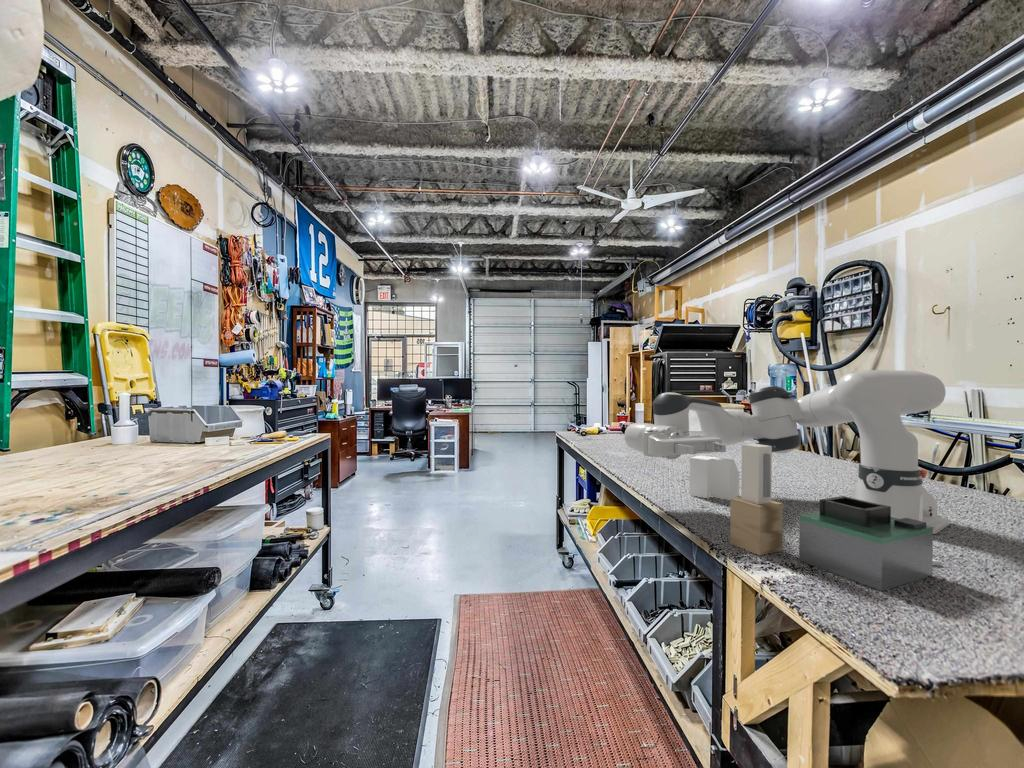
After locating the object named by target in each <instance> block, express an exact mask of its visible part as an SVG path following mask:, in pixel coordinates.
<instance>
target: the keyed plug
mask: <svg viewBox="0 0 1024 768" xmlns="http://www.w3.org/2000/svg"><path fill="white" fill-rule="evenodd" d="M772 454H773V452H772V446H767V445H761V444H756V443H746V444H744V443H743V444H741V483H740V484H741V486H740V487H741V493H740V495H741V496H740V497H741V500H745V501H748V502H752V503H755V504H764V503H770V502H771V500H772V468H773V467H772V466H773V465H772V462H773V461H772V459H773V458H772V457H773V455H772Z"/></svg>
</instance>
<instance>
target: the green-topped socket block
mask: <svg viewBox="0 0 1024 768" xmlns="http://www.w3.org/2000/svg"><path fill="white" fill-rule="evenodd" d="M798 522H799V523H798V524H799V527H798V528H799V529H798V530H799V532H798V533H799V534H798V539H799V540H798V542H799V543H798V545H799V546H798V548H799V550H798V551H799V552H798V560H799V561H801V562H803V561H804V563H806V562H807V563H806V564H808V563H809V565H811V566H814V567H817V568H819V569H822V570H824V571H827V572H830V573H832V574H835V575H838V576H840V577H843V578H846V579H848V580H851V581H854V582H856V583H858V584H861V585H864V586H867V587H870V588H872V589H875V590H877V591H879V592H884V591H887V590H890V589H893V588H897V587H900V586H903V585H907V584H910V583H913V582H916V581H919V580H922V579H926V578H929V577H932V576H933V566H932V560H933V559H934V557H933V549H934V548H933V547H934V545H933V544H934V543H933V539H934V538H933V537H934V534H933V527H931V526H927V525H926V522H922V521H918V520H914V519H910V518H903V519H898V518H894V517H891V507H890V506H885V505H881V504H876V503H872V502H867V501H863V500H858V499H854V498H852V497H849V496H845V495H841V496H835V497H829V498H828V497H827V498H822V499H819V511H816V512H810V513H806V514H805V513H804V514H799V521H798ZM931 575H932V576H931ZM928 576H929V577H928ZM925 577H926V578H925Z"/></svg>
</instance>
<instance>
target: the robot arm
mask: <svg viewBox="0 0 1024 768" xmlns="http://www.w3.org/2000/svg"><path fill="white" fill-rule="evenodd" d="M946 393H947V392H946V387H945V384H944V383H943V381H942V380H941V379H940V378H938V377H937V376H935V375H933V374H929V373H925V372H923V371H922V372H921V371H915V370H896V369H895V370H891V369H890V370H889V369H888V370H886V369H883V370H882V369H880V370H879V369H865V370H864V369H863V370H859V371H854V372H851V373H850V372H849V373H846V374H843V376H841V377H840V378H839V379H838V381H837V382H836V384H835V385H832V386H828V387H826V388H825V387H824V388H821V389H817V390H815V391H812V392H810V393H808V394H806V395H803V396H800V397H796V398H792V397H791V396H792V395H793V392H792V391H790V392H788V391H787V390H786V389H785V388H783V387H780V386H778V385H763V386H759V387H758V388H755V389H754V390H753V391H751V392H750V393H749V394H748V395H749V396H748V399H749V401H748V402H749V405H750V407H751V412H752V414H750V413H749V412H745V411H741V410H725V409H724V408H723V406H722V405H721V403H719V402H717V401H714V400H709V399H704V398H698V397H695V396H693V397H692V396H688V395H683V394H681V393H677V392H674V391H673V392H669V391H667V392H663V393H659V394H658V395H657V396H656V397H655V399H654V400H653V401H652V409H653V410H652V411H653V420H654V421H653V422H654V423H648V422H635V423H631V424H628V425H627V427H626V429H625V431H624V443H625V444H626V446H627V447H628V448H629V449H631V450H633V451H636V452H638V453H641V454H643V456H645V457H649V458H650V457H651V458H652V457H653V458H655V457H656V458H662V459H668V460H676V459H678V458H679V457H680V456H682V455H697V454H710V453H726V451H727V446H731V445H736V444H739V443H744V442H746V441H749V440H756V441H757V443H755V444H761V445H767V446H772V453H774V454H787V453H791V452H793V451H794V450H795V449H798V448H799V447H800V446H801V435H800V434H799V430H798V425H800V426H801V427H804V428H823V427H824V428H825V427H832V426H837V425H838V426H839V425H842V424H847V423H852V422H853V423H854V422H855V423H854V424H856V428H857V430H858V433H859V434H858V435H859V443H860V463H859V464H858V468H857V473H858V474H857V476H858V478H859V480H858V481H856V482H855V483H854V484H853V487H852V494H851V495H852V496H851V498H854V499H858V500H863V501H867V502H872V503H876V504H881V505H885V506H890V507H891V517H894V518H898V519H903V518H910V519H914V520H918V521H922V522H926V525H927V526H931V527H933V535H935V534H936V535H937V534H938V533H939V532H941V531H942V530H944V529H945V528H947V527H948V526H950V525H951V520H950V519H948V518H946V517H943V516H940V515H938V501H937V499H936V498H935V497H934V496H933V495H932V494H931V493H930V492H929V491H928V490H927V489H926V488H925V487H924V486H923V485H924V484H923V479H926V478H927V476H928V472H927V470H925V469H919V441H918V438H917V437H916V436H915V434H913V433H912V432H911V431H909V430H908V429H907V428H906V426H905V425H904V422H903V420H902V417H901V416H904V415H910V414H918V413H922V412H923V413H924V412H926V411H930V410H934V409H937V408H938V407H940V406H941V405H942V404H943V402H944V400H945V397H946ZM690 411H694V412H695V413H696V415H697V418H698V421H699V427H700V430H701V433H702V434H703V435H690V422H689V421H690V417H689V413H690ZM797 424H798V425H797Z"/></svg>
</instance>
